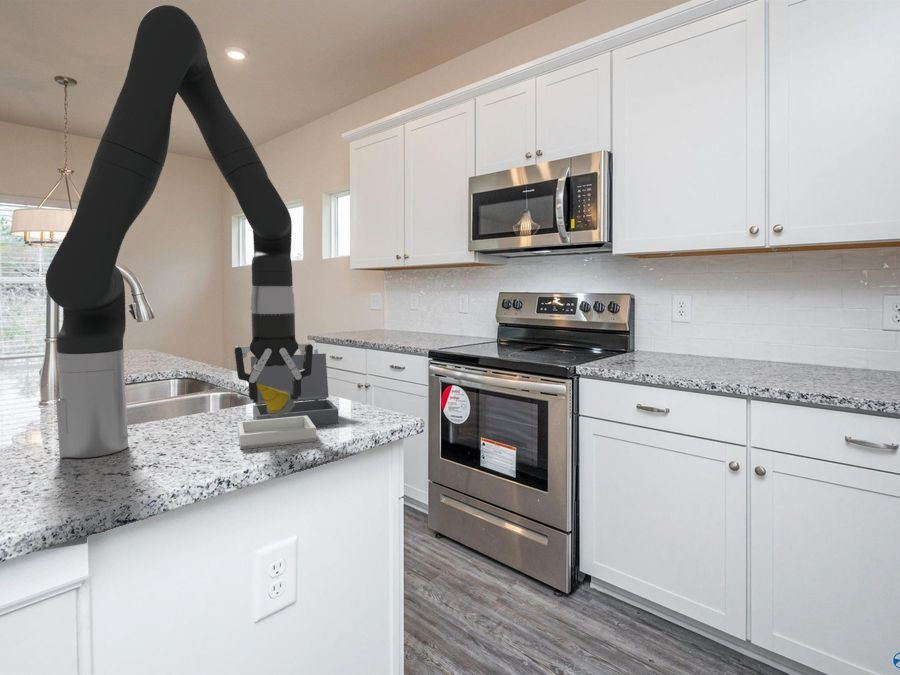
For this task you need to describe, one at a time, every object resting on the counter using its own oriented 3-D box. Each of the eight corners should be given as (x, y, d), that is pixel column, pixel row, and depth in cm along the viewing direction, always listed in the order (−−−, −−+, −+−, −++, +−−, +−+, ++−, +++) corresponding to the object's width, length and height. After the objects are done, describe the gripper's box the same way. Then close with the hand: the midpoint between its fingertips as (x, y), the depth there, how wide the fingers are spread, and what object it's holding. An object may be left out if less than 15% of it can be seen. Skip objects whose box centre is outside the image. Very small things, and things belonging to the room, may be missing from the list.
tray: (240, 449, 90) (240, 435, 90) (237, 434, 99) (237, 421, 99) (316, 441, 96) (316, 427, 96) (307, 427, 105) (307, 415, 105)
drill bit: (301, 419, 98) (265, 389, 91) (277, 428, 99) (241, 399, 93) (304, 397, 102) (270, 367, 95) (281, 407, 103) (246, 378, 96)
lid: (250, 356, 112) (250, 357, 112) (253, 405, 110) (252, 405, 111) (326, 353, 118) (325, 353, 119) (328, 398, 117) (328, 399, 118)
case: (256, 431, 102) (256, 416, 102) (253, 419, 111) (252, 405, 111) (338, 423, 108) (338, 409, 108) (328, 412, 117) (328, 399, 117)
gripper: (231, 312, 89) (234, 408, 91) (316, 311, 95) (318, 401, 97) (230, 310, 96) (233, 399, 97) (309, 309, 102) (311, 393, 103)
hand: (275, 400), depth 97 cm, fingers closed on drill bit, 6 cm apart
